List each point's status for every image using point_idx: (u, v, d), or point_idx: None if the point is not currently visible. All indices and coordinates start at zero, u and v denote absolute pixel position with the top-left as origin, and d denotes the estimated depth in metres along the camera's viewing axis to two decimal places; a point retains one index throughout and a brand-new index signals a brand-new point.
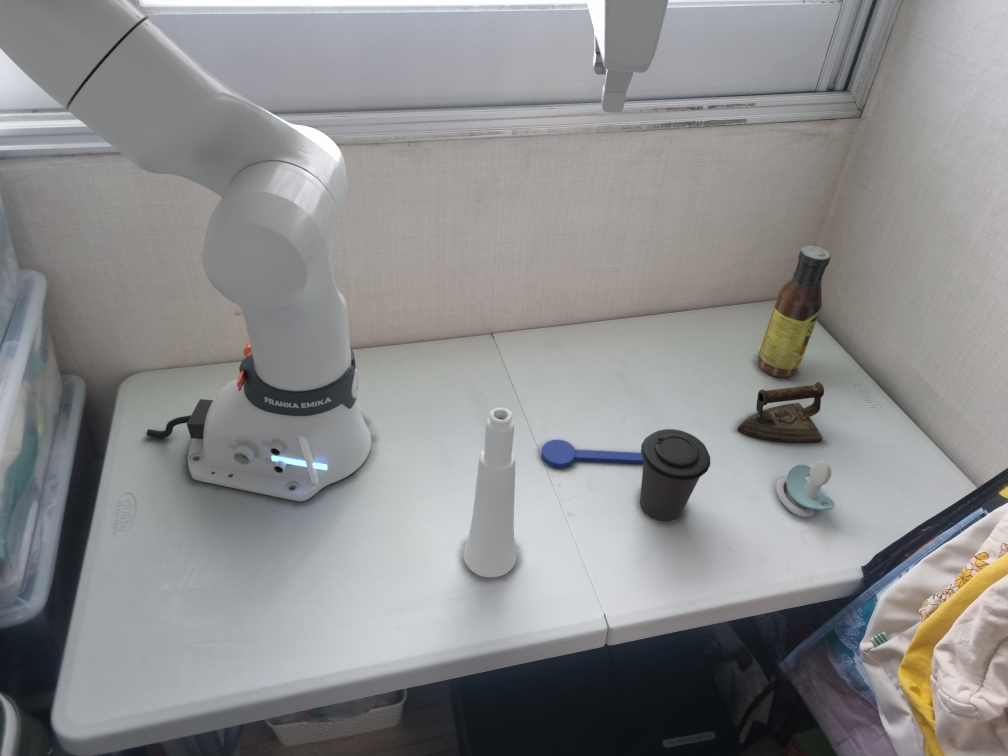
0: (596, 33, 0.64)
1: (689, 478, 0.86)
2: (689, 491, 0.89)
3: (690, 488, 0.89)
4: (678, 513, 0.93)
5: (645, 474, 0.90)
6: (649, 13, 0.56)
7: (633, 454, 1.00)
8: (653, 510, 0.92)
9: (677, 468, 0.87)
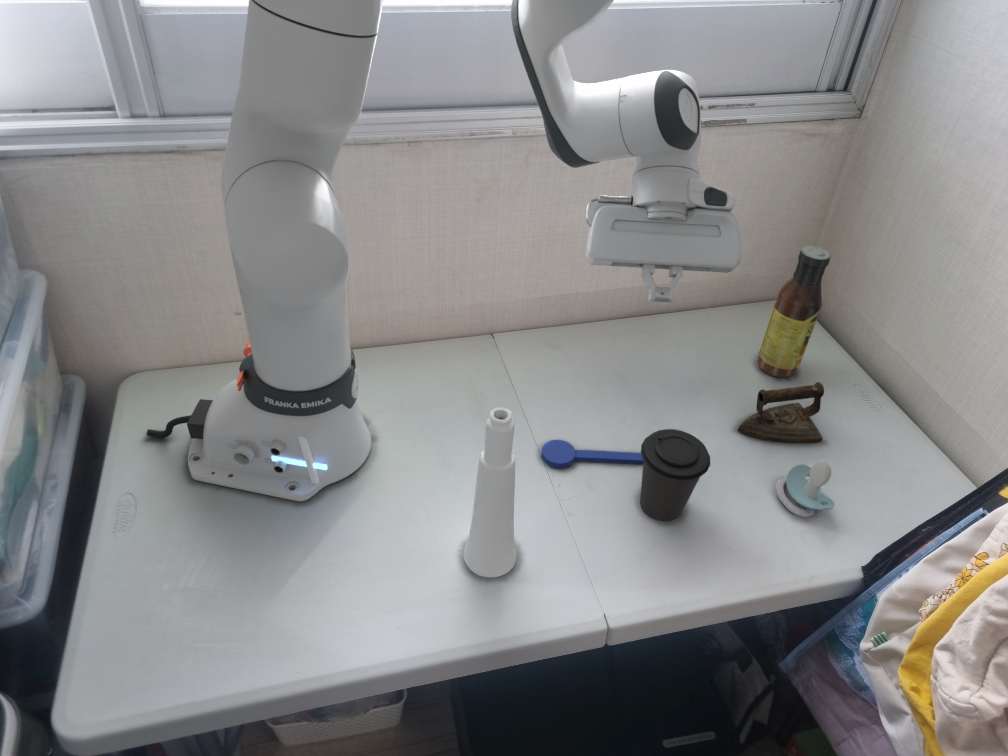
0: (682, 259, 1.00)
1: (689, 478, 0.86)
2: (689, 491, 0.89)
3: (690, 488, 0.89)
4: (678, 513, 0.93)
5: (645, 474, 0.90)
6: None
7: (633, 454, 1.00)
8: (653, 510, 0.92)
9: (677, 468, 0.87)
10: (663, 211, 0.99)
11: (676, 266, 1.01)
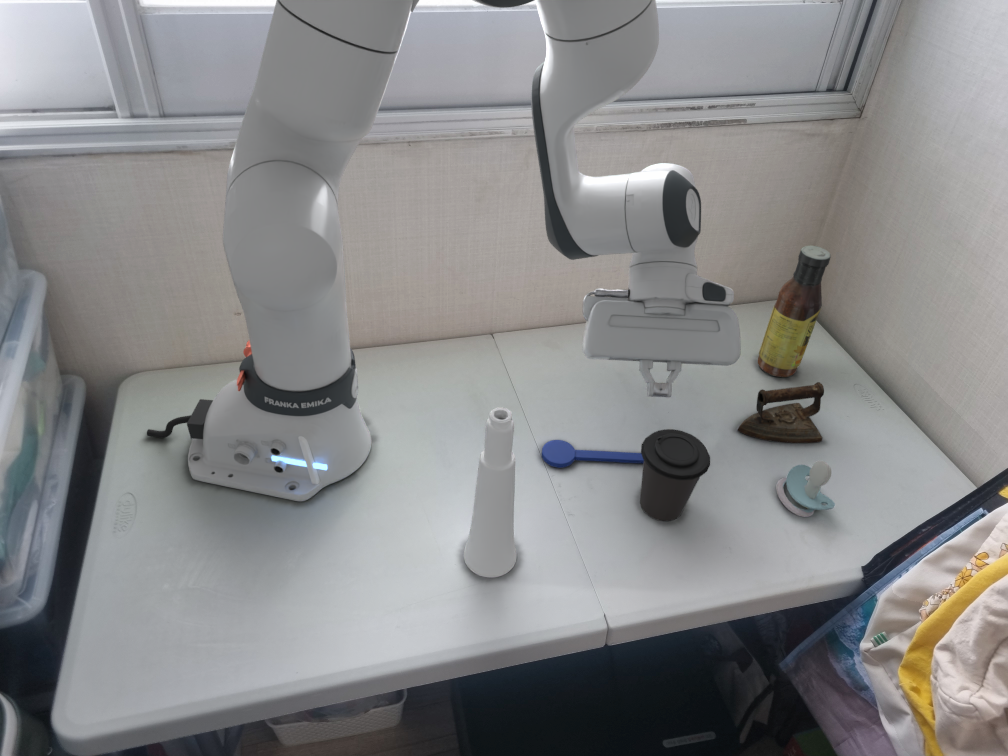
0: (681, 354, 0.98)
1: (689, 478, 0.86)
2: (689, 491, 0.89)
3: (690, 488, 0.89)
4: (678, 513, 0.93)
5: (645, 474, 0.90)
6: None
7: (633, 454, 1.00)
8: (653, 510, 0.92)
9: (677, 468, 0.87)
10: (661, 307, 0.97)
11: (674, 361, 0.99)
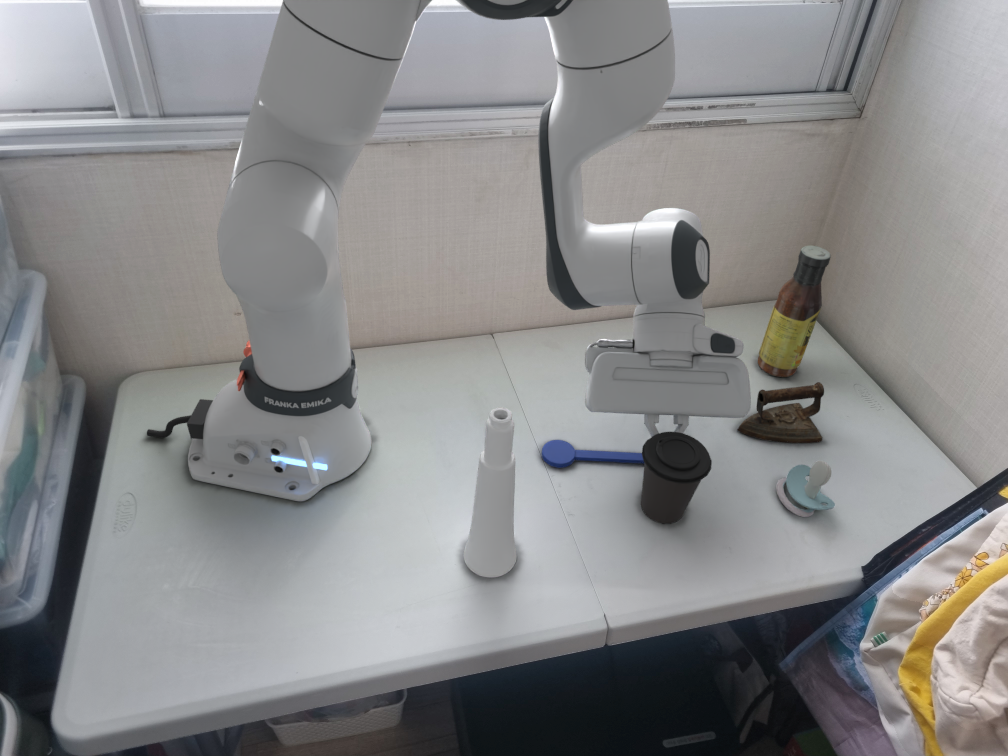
0: (688, 409, 0.94)
1: (689, 481, 0.86)
2: (689, 494, 0.89)
3: (690, 491, 0.89)
4: (678, 516, 0.92)
5: (645, 476, 0.90)
6: None
7: (633, 454, 1.00)
8: (653, 513, 0.92)
9: (677, 471, 0.86)
10: (667, 359, 0.93)
11: (682, 415, 0.94)
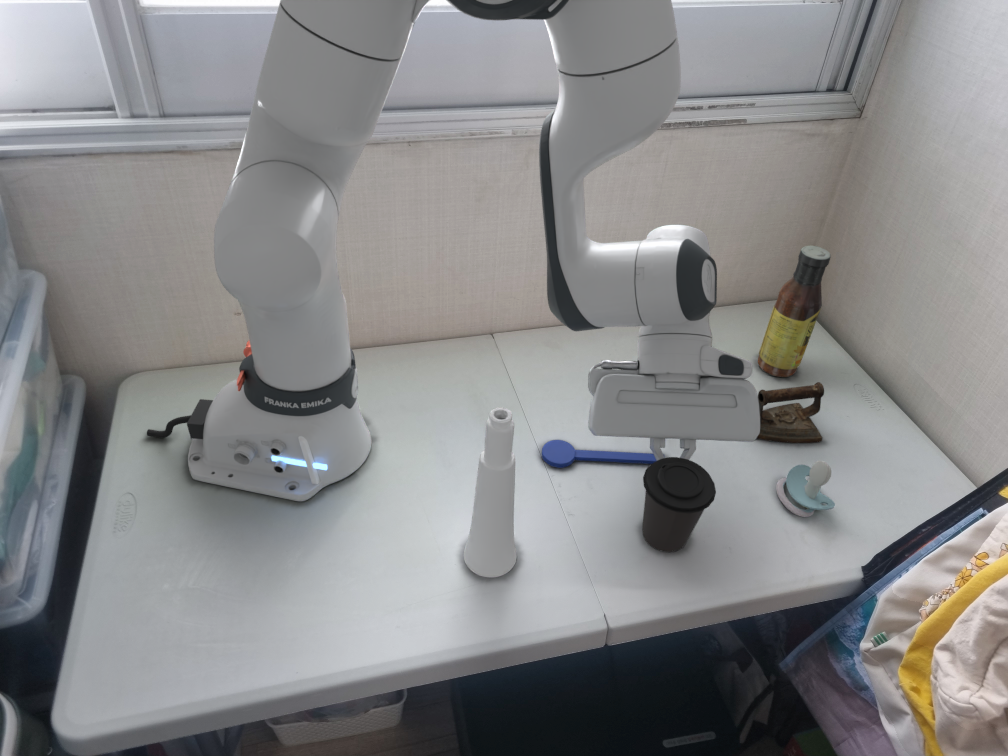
0: (696, 433, 0.90)
1: (687, 511, 0.83)
2: (689, 524, 0.86)
3: (690, 521, 0.85)
4: (679, 545, 0.89)
5: (646, 501, 0.87)
6: None
7: (633, 454, 1.00)
8: (653, 539, 0.89)
9: (676, 499, 0.83)
10: (673, 382, 0.90)
11: (688, 440, 0.91)
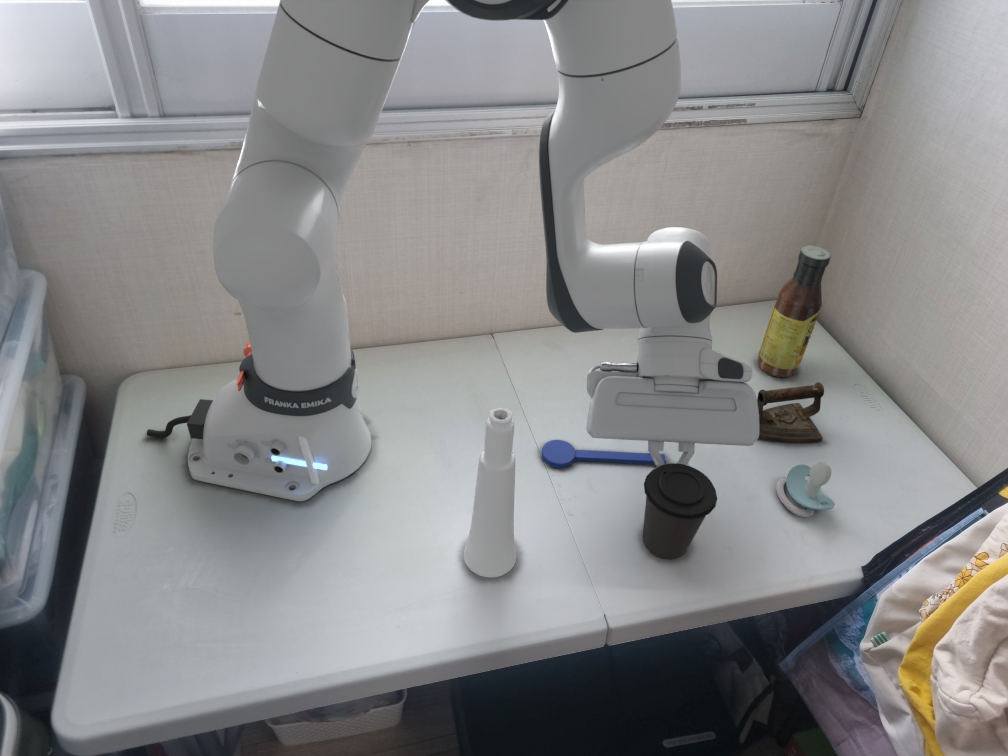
0: (694, 436, 0.90)
1: (689, 518, 0.82)
2: (691, 531, 0.85)
3: (691, 528, 0.84)
4: (679, 553, 0.88)
5: (646, 507, 0.86)
6: None
7: (633, 454, 1.00)
8: (653, 546, 0.88)
9: (678, 505, 0.83)
10: (672, 385, 0.89)
11: (687, 443, 0.91)
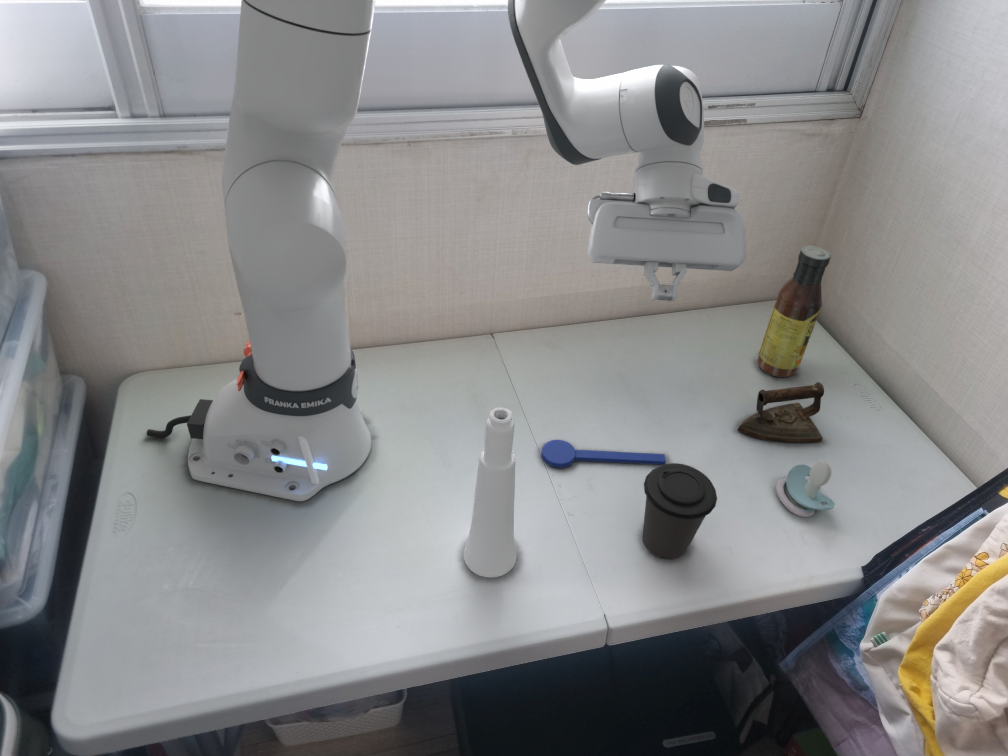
0: (686, 256, 0.98)
1: (689, 518, 0.82)
2: (691, 531, 0.85)
3: (691, 528, 0.84)
4: (679, 553, 0.88)
5: (646, 507, 0.86)
6: None
7: (633, 454, 1.00)
8: (653, 546, 0.88)
9: (677, 505, 0.83)
10: (666, 208, 0.97)
11: (679, 264, 0.99)
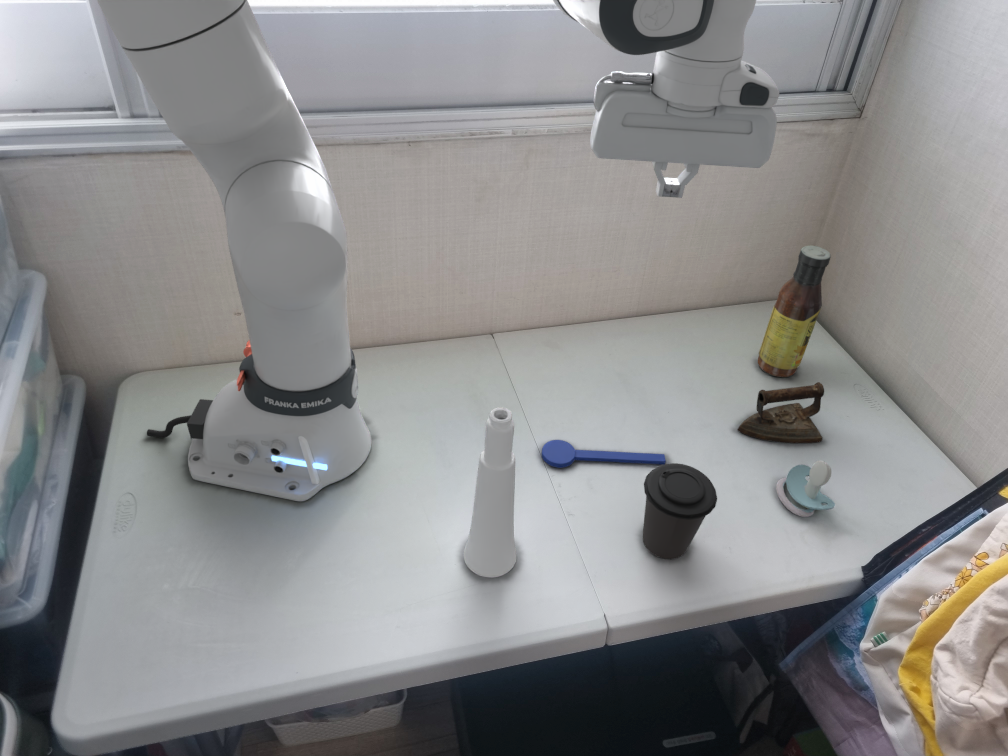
0: (700, 159, 0.86)
1: (689, 518, 0.82)
2: (691, 531, 0.85)
3: (691, 528, 0.84)
4: (679, 553, 0.88)
5: (646, 507, 0.86)
6: None
7: (633, 454, 1.00)
8: (653, 546, 0.88)
9: (677, 505, 0.83)
10: (686, 110, 0.81)
11: (692, 163, 0.87)
